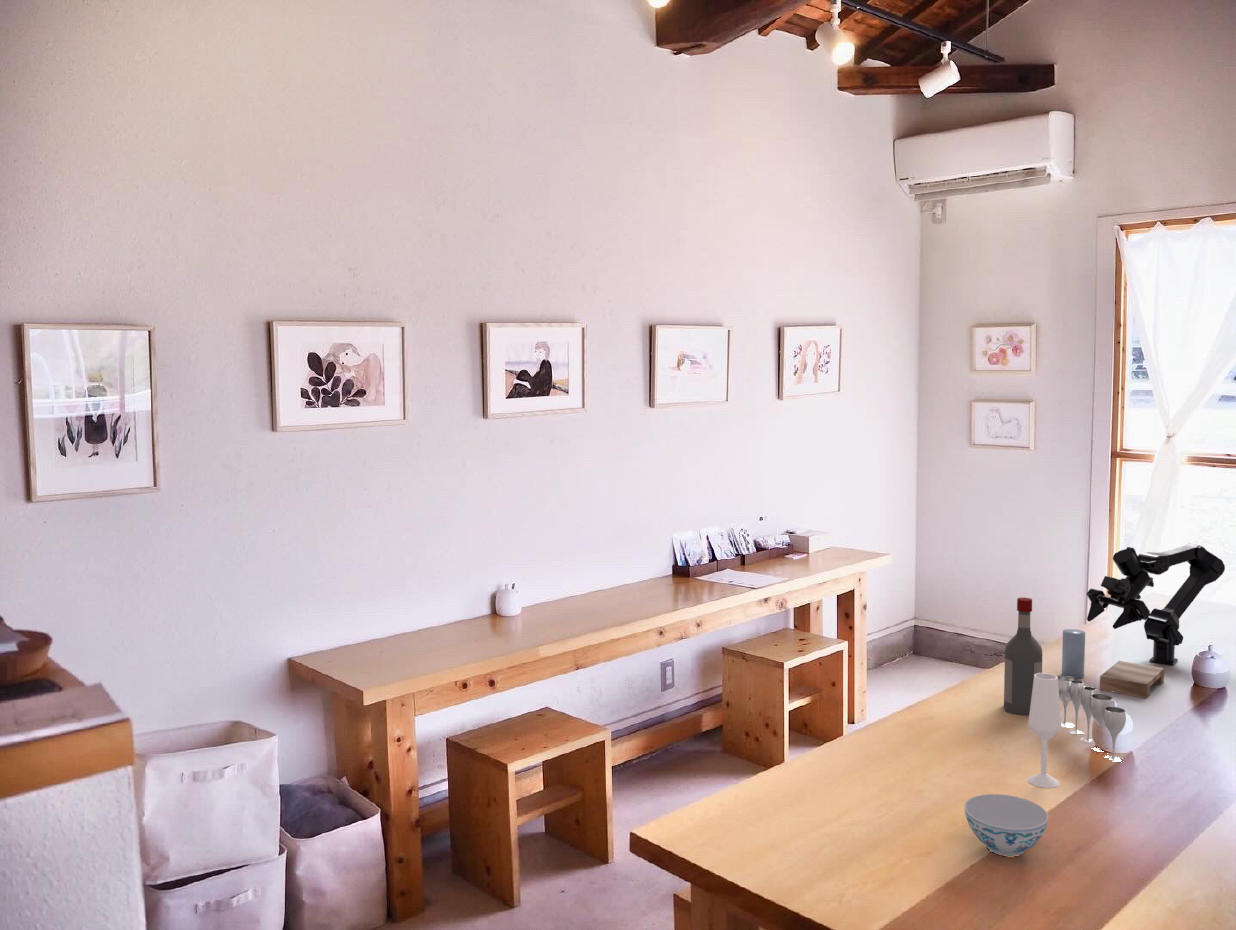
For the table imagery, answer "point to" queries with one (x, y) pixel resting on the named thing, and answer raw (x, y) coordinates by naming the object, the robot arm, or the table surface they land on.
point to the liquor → (1021, 663)
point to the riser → (1131, 678)
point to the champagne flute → (1044, 721)
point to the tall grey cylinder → (1073, 653)
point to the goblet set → (1091, 709)
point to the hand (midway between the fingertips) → (1100, 624)
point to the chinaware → (1006, 822)
